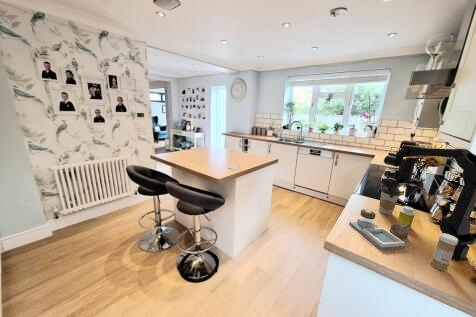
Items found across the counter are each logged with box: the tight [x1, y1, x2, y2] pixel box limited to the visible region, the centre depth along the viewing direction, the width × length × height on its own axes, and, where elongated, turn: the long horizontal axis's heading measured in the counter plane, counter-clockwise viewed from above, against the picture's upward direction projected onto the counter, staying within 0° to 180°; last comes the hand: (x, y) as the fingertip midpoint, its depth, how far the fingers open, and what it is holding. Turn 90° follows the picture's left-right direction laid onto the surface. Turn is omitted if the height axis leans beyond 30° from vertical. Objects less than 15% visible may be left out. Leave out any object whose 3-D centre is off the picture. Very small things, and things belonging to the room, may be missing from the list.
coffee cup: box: [378, 186, 400, 216], centre depth 111 cm, size 8×8×15 cm
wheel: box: [360, 208, 376, 220], centre depth 95 cm, size 6×6×2 cm
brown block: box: [389, 222, 411, 240], centre depth 91 cm, size 5×4×6 cm
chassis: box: [348, 217, 406, 251], centre depth 90 cm, size 19×12×4 cm, turn 8°
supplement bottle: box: [396, 205, 416, 229], centre depth 99 cm, size 6×6×10 cm
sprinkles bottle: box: [430, 232, 458, 272], centre depth 71 cm, size 5×5×13 cm
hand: (398, 197), depth 101 cm, fingers open, 9 cm apart
